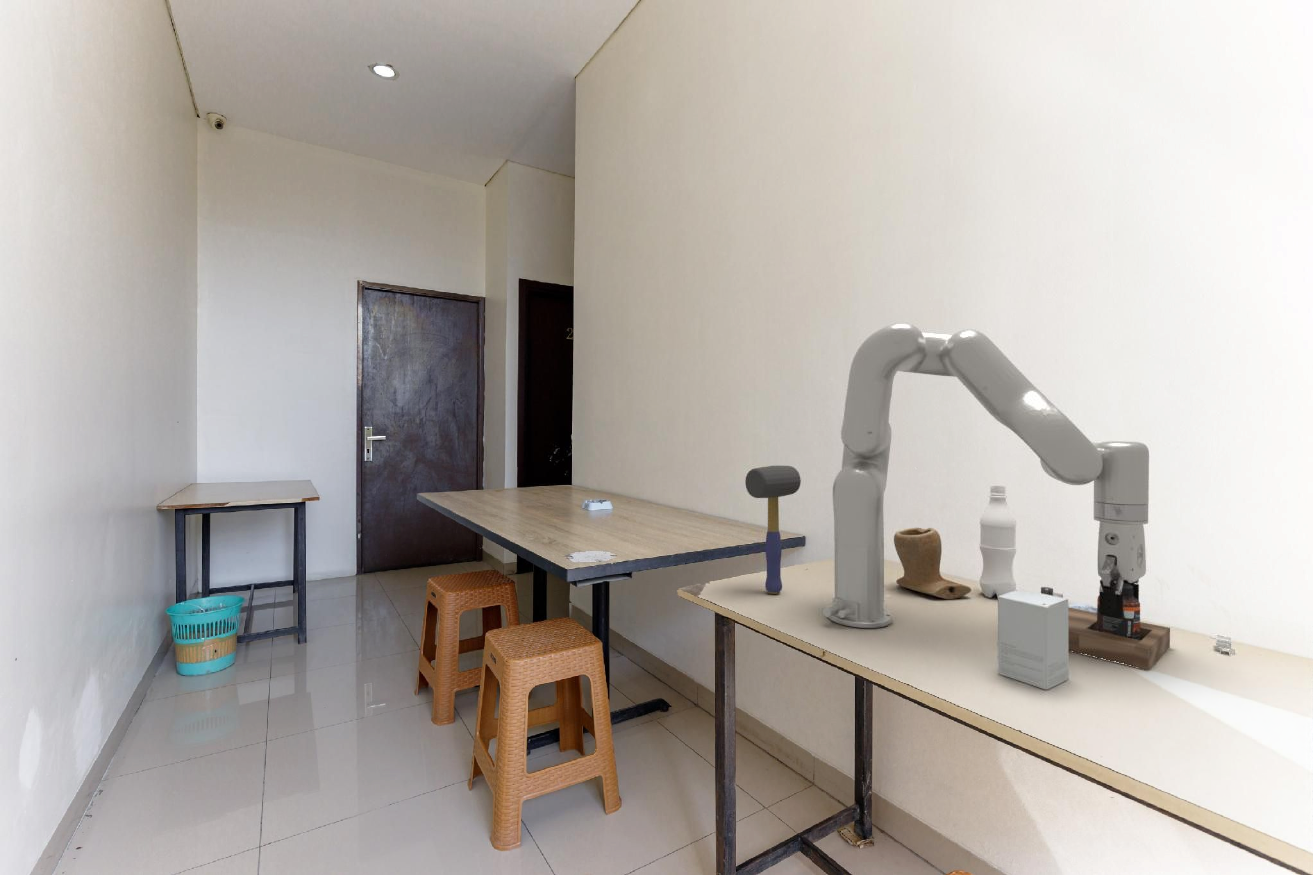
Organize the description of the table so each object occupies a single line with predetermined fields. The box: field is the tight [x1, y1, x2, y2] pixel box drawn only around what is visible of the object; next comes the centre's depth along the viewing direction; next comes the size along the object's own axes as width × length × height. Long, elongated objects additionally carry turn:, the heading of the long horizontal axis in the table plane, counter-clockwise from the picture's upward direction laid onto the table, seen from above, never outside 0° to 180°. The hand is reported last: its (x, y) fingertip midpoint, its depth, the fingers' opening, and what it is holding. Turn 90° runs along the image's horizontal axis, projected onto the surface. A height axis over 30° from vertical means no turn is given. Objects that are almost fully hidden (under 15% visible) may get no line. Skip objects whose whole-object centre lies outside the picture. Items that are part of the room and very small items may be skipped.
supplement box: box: [997, 588, 1070, 691], centre depth 94 cm, size 7×7×13 cm
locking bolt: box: [1040, 586, 1064, 598], centre depth 117 cm, size 8×3×4 cm, turn 129°
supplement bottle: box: [1096, 582, 1141, 640], centre depth 104 cm, size 6×6×11 cm
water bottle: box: [979, 485, 1017, 598], centre depth 136 cm, size 7×7×25 cm
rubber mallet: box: [744, 465, 802, 595], centre depth 140 cm, size 12×8×30 cm, turn 125°
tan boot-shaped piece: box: [893, 527, 972, 600], centre depth 139 cm, size 15×12×15 cm
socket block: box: [1068, 606, 1171, 671], centre depth 109 cm, size 15×22×4 cm
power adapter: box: [1210, 635, 1236, 657], centre depth 103 cm, size 3×3×3 cm
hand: (1119, 610), depth 104 cm, fingers open, 9 cm apart
